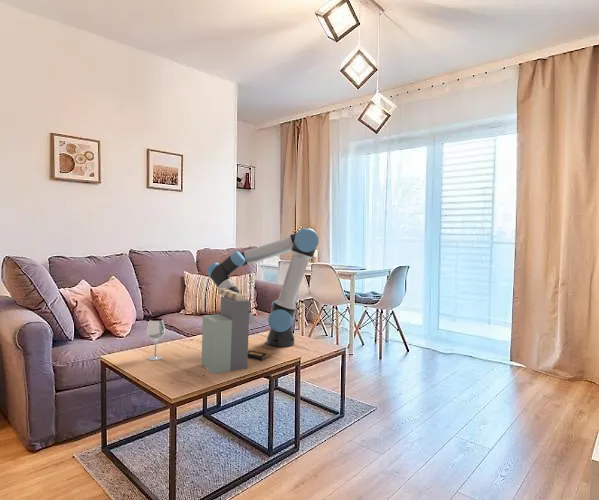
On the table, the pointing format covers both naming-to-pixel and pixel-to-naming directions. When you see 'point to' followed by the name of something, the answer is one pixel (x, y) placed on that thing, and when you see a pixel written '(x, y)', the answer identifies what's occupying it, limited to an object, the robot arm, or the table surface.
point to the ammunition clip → (259, 354)
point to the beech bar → (231, 294)
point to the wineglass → (155, 334)
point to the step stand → (226, 337)
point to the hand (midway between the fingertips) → (254, 323)
